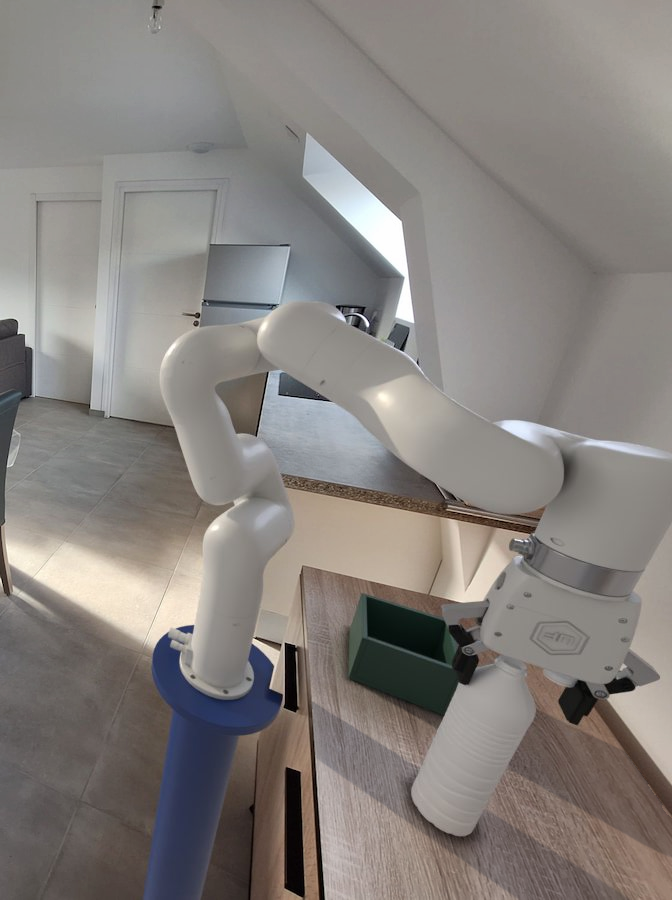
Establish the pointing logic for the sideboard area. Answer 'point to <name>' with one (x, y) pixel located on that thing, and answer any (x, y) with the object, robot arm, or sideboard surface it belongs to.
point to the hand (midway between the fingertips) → (511, 694)
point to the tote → (403, 653)
